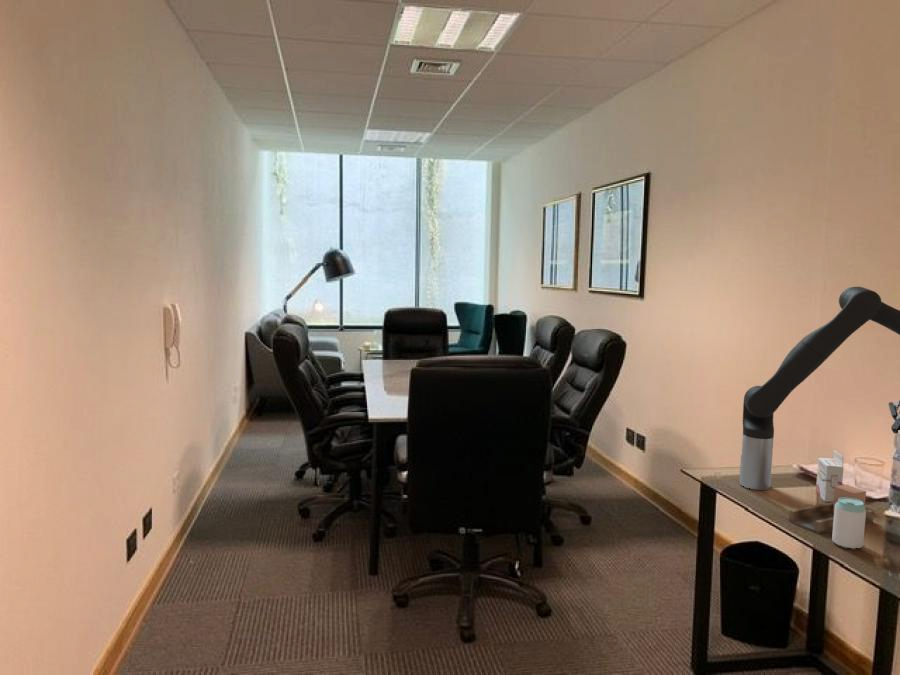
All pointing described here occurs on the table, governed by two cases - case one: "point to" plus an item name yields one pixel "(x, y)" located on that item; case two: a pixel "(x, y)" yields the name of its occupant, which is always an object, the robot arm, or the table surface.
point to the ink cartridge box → (829, 476)
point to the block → (848, 493)
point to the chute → (819, 517)
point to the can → (849, 523)
